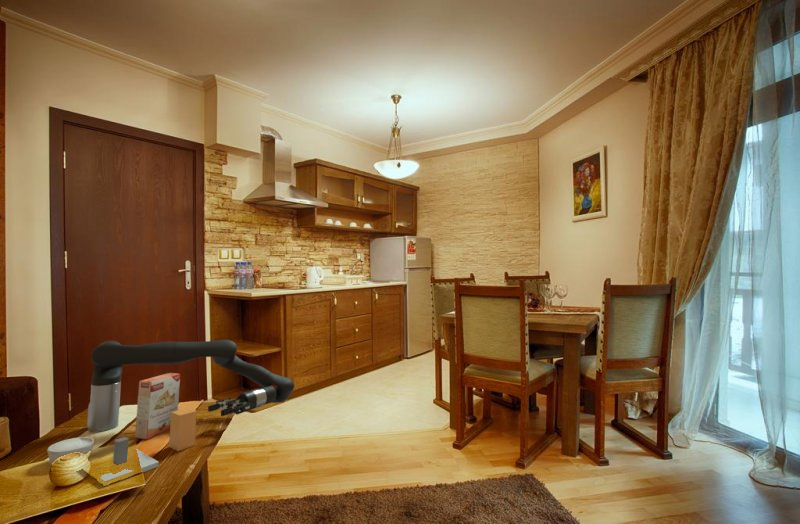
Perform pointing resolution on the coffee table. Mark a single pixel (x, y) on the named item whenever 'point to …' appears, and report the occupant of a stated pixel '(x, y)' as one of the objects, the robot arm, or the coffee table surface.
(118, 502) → the coffee table surface
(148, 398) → the cracker box
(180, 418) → the tan upright sponge
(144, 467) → the post stand
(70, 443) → the ramekin
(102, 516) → the coffee table surface
